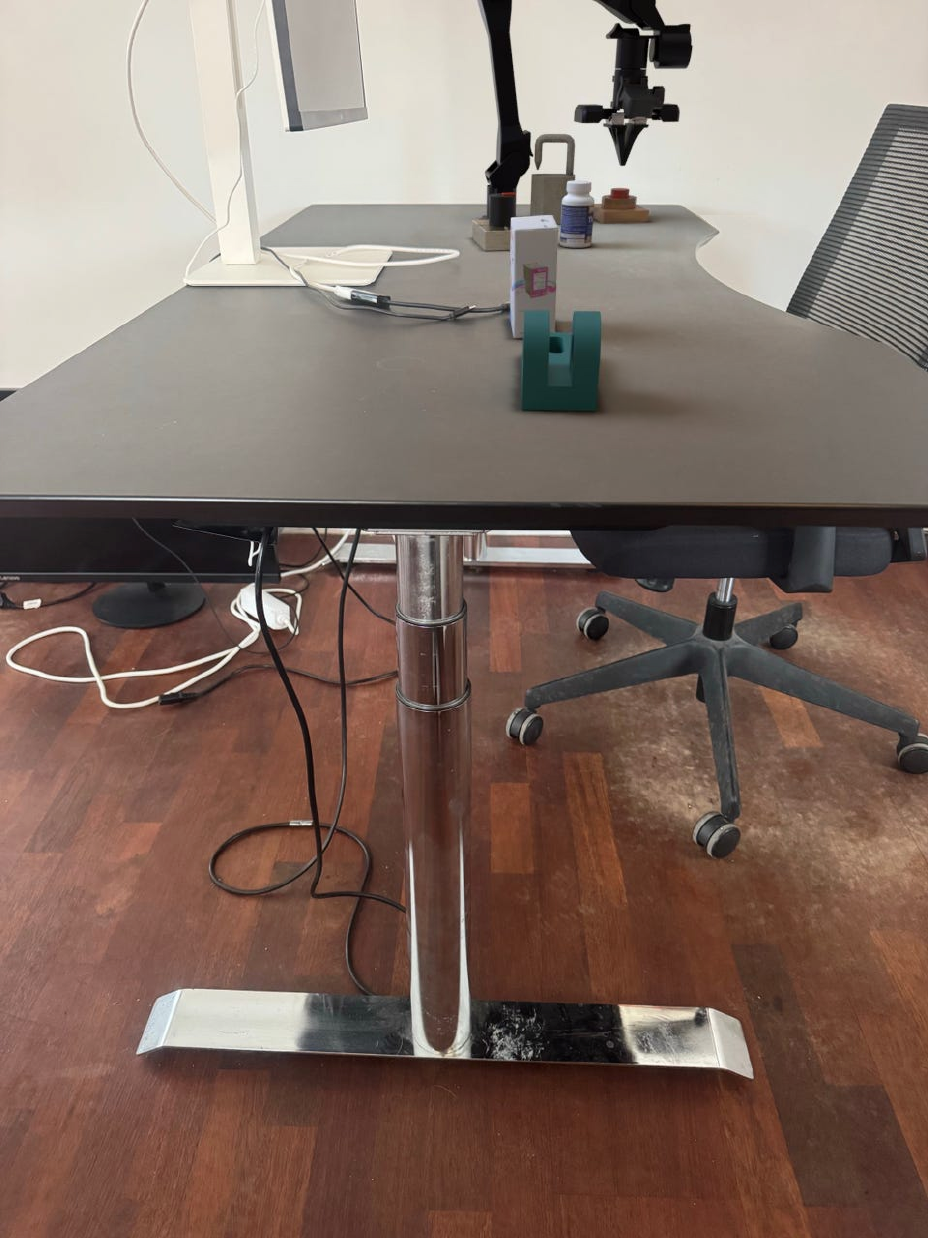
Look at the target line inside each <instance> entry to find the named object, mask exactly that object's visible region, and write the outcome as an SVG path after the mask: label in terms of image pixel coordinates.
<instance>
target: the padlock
mask: <svg viewBox="0 0 928 1238" xmlns="http://www.w3.org/2000/svg"><path fill="white" fill-rule="evenodd" d="M575 141H576V140H575V138H574V137H573V136H572V135H570V134H567V133H542V134H540V135H539V136H538V137H537V138H536V139H535V143H534V156H533V157H534V159H533V160H534V164H535V169H536V171H539V170H540V168H541V165H542V162H543V150H544V149H543V148H544V147H543V145H544V144H546V143H549V144H567V146H566V164H565V173H533V174H531V180H530V185H531V186H530V206H529V207H530V208H529V209H530V210H529V211H530V212H529V216H541V215H553V218H554V220H555V222H556V224H557V225H561V210H562V199H563V198H564V197H565V196H567V195H568V191H567V189H566V188H567V182H568V181H576V174H574V171H575V156H576V155H575V154H576V142H575Z"/></svg>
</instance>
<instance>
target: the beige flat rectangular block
mask: <svg viewBox="0 0 928 1238" xmlns="http://www.w3.org/2000/svg"><path fill="white" fill-rule="evenodd" d="M471 223H472V224H471V225H472V226H471V232H472V233H471V239H472V240H473V241H475V242H476V243H477V245H478V246H479V247H481V249H483V250H484V251H485V252H494V251H495V252H496V251H497V252H498V251H510V242H511V226H504V227H500V226H491V225H489V220H484V219H472V220H471Z"/></svg>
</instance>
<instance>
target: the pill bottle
mask: <svg viewBox="0 0 928 1238" xmlns="http://www.w3.org/2000/svg"><path fill="white" fill-rule="evenodd" d="M566 189H567V191H568V195H567V196H565V197H564V198H563V199H562V210H561V224H560V228H559V229H560V231H559V245H560V246H561V247H564V248H573V249H579V248H580V249H581V248H588V247H590V246H591V245H592V240H593V228H594V218H593V215H594V204H595V199H594V197H593V196H592V195H591V194H590V193H591V192H592V181H589V180H575V181H568V182H567V188H566Z"/></svg>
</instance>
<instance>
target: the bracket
mask: <svg viewBox="0 0 928 1238" xmlns="http://www.w3.org/2000/svg"><path fill="white" fill-rule="evenodd" d="M570 331H571V332H570V333H569V332H559V331H555V332H550V311H534V310H524V330H523V338H522V341H521V342H522V343H521V344H522V345H521V347H522V348H521V406H520V407H521V410H522V411H567V412H568V411H571V412H574V411H575V412H576V411H577V412H597V405H598V392H599V391H598V390H599V381H600V380H599V379H600V366H601V356H602V355H601V353H602V314H601V311H600V310H574V311H573V314H572V322H571V330H570Z"/></svg>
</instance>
